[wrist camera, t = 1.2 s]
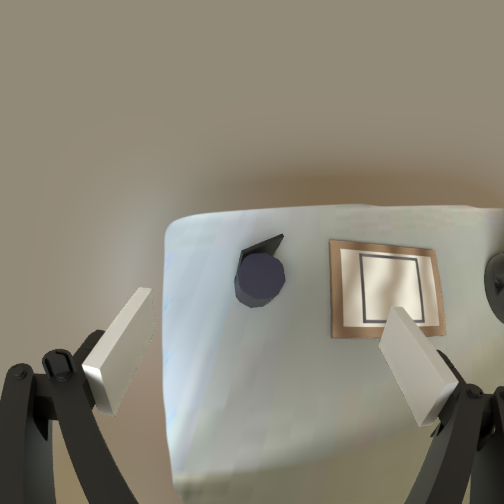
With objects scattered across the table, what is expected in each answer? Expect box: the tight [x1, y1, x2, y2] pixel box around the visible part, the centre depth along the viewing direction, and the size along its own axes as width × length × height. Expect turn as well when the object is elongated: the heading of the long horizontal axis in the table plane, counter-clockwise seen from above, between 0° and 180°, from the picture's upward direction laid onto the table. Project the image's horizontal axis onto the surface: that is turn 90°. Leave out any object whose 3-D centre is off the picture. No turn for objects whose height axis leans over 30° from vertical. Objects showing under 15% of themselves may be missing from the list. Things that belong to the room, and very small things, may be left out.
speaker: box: [234, 234, 285, 308], centre depth 39 cm, size 8×6×10 cm
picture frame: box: [329, 240, 446, 338], centre depth 43 cm, size 20×15×1 cm
